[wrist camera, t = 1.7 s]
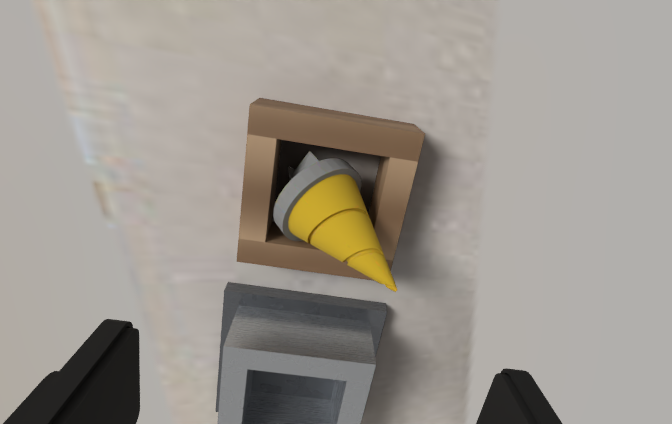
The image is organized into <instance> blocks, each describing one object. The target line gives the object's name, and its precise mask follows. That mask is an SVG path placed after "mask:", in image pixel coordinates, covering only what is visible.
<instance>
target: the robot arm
mask: <svg viewBox="0 0 672 424" xmlns="http://www.w3.org/2000/svg"><path fill="white" fill-rule="evenodd" d="M139 379H140V374H139V330H138V329H135V328H133V325H132V323H131V322H127V321H119V320H111V319H106V320H104V321H103V322H102V323H101V324H100V325H99V326H98V328H97V329H96V330H95V331H94V332H93V333H92V334H91V336H90V337H89V338H88V339H87V340H86V341H85V342H84V344H83V345H82V346H81V347H80V348H79V349H78V350H77V352H76V353H75V354H74V355H73V356H72V357H71V358H70V360H69V361H68V362H67V363H66V364H65V365H64V367H63V368H62V369H61V370H60V371H54V372H52V373H50V374H49V375H48V376H46V377H45V378H44V379H43V380H42V381H41V383H39V385H38V386H37V387H36V388H35V389H34V390H33V391H32V392H31V394H30V395H29V396H28V397H27V398H26V399H25V400H24V401H23V402H22V403H21V405H20V406H19V407H18V408H17V409H16V410H15V411H14V412H13V413H12V414H11V416H10V417H9V418H8V419H7V420H6V421H5V422H4V423H3V424H136V422H137V419H138V416H139V411H140V385H139V384H140V383H139V381H140V380H139ZM476 424H562V423H561V421H560V419H559V418H558V416H557V415H556V413H555V412H554V410H553V409H552V407H551V406H550V404H549V402H548V401H547V400H546V398H545V396H544V395H543V393H542V392H541V390H540V389H539V387H538V386H537V384H536V382H535V381H534V379H533V378H532V376H531V375H530V374H529V373H528V372H526V371H522V370H514V369H503V370H502V371H501V373H498V374H496V375H495V377H494V379H493V382H492V385H491V387H490V390H489V392H488V395H487V397H486V400H485V402H484V405H483V407H482V410H481V413H480V415H479V418H478V420H477V423H476Z"/></svg>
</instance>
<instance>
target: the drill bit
mask: <svg viewBox="0 0 672 424" xmlns="http://www.w3.org/2000/svg"><path fill="white" fill-rule="evenodd" d="M289 178H290V181H289V183H288V184H287V185H286V186H285V187H284V189H283V190H282V192H281V193H280V195H279V197H278V199H277V201H276V203H275V207H274V213H273V216H274V221H275V223H276V224H277V226H278V227H279V228H280V230H281V231H282V232H283V234H284V235H285V236H286V237H287V238H288V239H290V240H292V241H306V242H307V243H309V244H311V245H313V246H314V247H316V248H318V249H320V250H322V251H323V252H325V253H327V254H329V255H330V256H332V257H334V258H336V259H338V260H339V261H341V262H345V261H347V262H348V264H347V265H348V266H350V267H352V268H354V269H355V270H357V271H359V272H361V273H362V274H364V275H366V276H368V277H370V278H371V279H373V280H375V281H377V282H378V283H380V284H385V286H386V287H387V288H389V289H391V290H393V291H395V292H396V291H397V287H396V285H395V282H394V279H393V277H392V274H391V272H390V269H389V267H388V264H387V261H386V259H385V257H384V254H383V251H382V248H381V246H380V243H379V241H378V238H377V236H376V233H375V230H374V228H373V225H372V223H371V220H370V218H369V215H368V212H367V210H366V207H365V205H364V202H363V199H362V197H361V194H360V191H361V184H362V182H361V177H360V176H359V174H358V173H357V172H356V171H355V170H354V169H353V168H352V167H351V166H350V165H349V164H348V163H347V162H346V161H344V160H342V159H339V158H329V159H324V160H321V161H319V160H318V159H317V158H316V157H315V156H314V155H313V154H312V153H311V152H310V151H309V152H308V154H307V155H306V156H305V157H304V159H303V160H302V161H301V163H300V164H299V165H298V167H297V168H296V169H293V168H291V167H289Z"/></svg>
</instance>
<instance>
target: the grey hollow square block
mask: <svg viewBox="0 0 672 424" xmlns="http://www.w3.org/2000/svg"><path fill="white" fill-rule="evenodd" d="M386 314H387V309H386V305H385V303H379V302H371V301H364V300H356V299H349V298H342V297H334V296H327V295H319V294H312V293H304V292H297V291H289V290H282V289H274V288H267V287H260V286H252V285H245V284H237V283H230V282H228V283H227V286H226V288H225V290H224V303H223V316H222V330H221V344H220V358H219V372H218V386H217V400H216V412H218V424H361V420H362V416H363V413H364V409H365V405H366V401H367V397H368V394H369V390H370V386H371V382H372V378H373V375H374V371H375V367H376V361H375V357H376V353H377V349H378V345H379V341H380V337H381V334H382V330H383V326H384V322H385V318H386Z"/></svg>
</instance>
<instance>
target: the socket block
mask: <svg viewBox="0 0 672 424" xmlns="http://www.w3.org/2000/svg"><path fill="white" fill-rule="evenodd" d="M424 136H425V133H424V132H422V131H421V130H420V129H419V128H418V127H417V126H415V125H414V124H410V123H404V122H399V121H393V120H387V119H381V118H375V117H369V116H363V115H357V114H351V113H346V112H340V111H334V110H328V109H322V108H316V107H310V106H304V105H298V104H293V103H287V102H281V101H275V100H269V99H263V98H259V99H257V100H256V101H254V102H253V103H251V104H250V108H249V120H248V132H247V144H246V156H245V168H244V180H243V192H242V204H241V216H240V228H239V240H238V252H237V262H244V263H252V264H259V265H266V266H273V267H281V268H288V269H295V270H302V271H309V272H317V273H324V274H331V275H338V276H346V277H353V278H360V279H367V280H373V279H371V278H370V277H368V276H366V275H364V274H362V273H361V272H359V271H357V270H355V269H354V268H352V267H350V266H348V265H347V264H348V262H347V261H345V262H341V261H339V260H338V259H336V258H334V257H332V256H330V255H329V254H327V253H325V252H323V251H322V250H320V249H318V248H316V247H314V246H313V245H311V244H309V243H307V242H306V241H292V240H290V239H288V238H287V237H286V236H285V235H284V234H283V232H282V231H281V230H280V228H279V227H278V226H277V224H276V223H275V222H273V221H272V219H273V211H274V202H275V194H276V185H277V176H278V168H279V159H280V151H281V142H282V140H287V141H293V142H299V143H305V144H311V145H317V146H323V147H330V148H336V149H342V150H348V151H354V152H360V153H367V154H373V155H379V156H381V158H380V163H379V167H378V172H377V176H376V181H375V186H374V190H373V195H372V200H371V204H370V209H369V214H368V215H369V218H370V220H371V223H372V225H373V228H374V230H375V233H376V236H377V238H378V241H379V243H380V246H381V248H382V251H383V254H384V257H385V259H386V261H387V264H388V267H389V269H390V271H391V267H392V263H393V259H394V255H395V251H396V248H397V244H398V240H399V236H400V232H401V228H402V224H403V220H404V216H405V212H406V208H407V204H408V200H409V196H410V192H411V188H412V184H413V180H414V176H415V172H416V168H417V164H418V160H419V156H420V152H421V148H422V144H423V140H424Z"/></svg>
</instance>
